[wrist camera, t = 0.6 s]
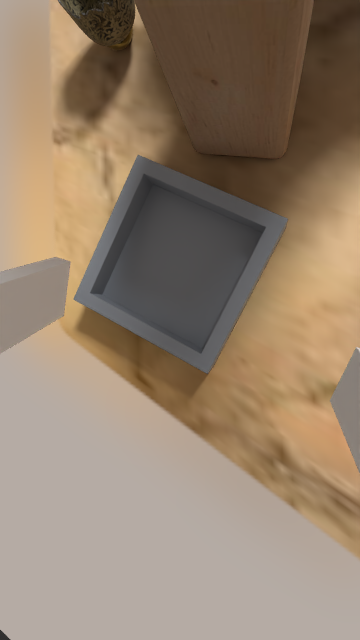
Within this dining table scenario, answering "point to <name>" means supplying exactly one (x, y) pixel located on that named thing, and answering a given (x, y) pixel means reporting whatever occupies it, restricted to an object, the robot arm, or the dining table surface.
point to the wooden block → (232, 69)
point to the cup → (104, 20)
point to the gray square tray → (179, 261)
